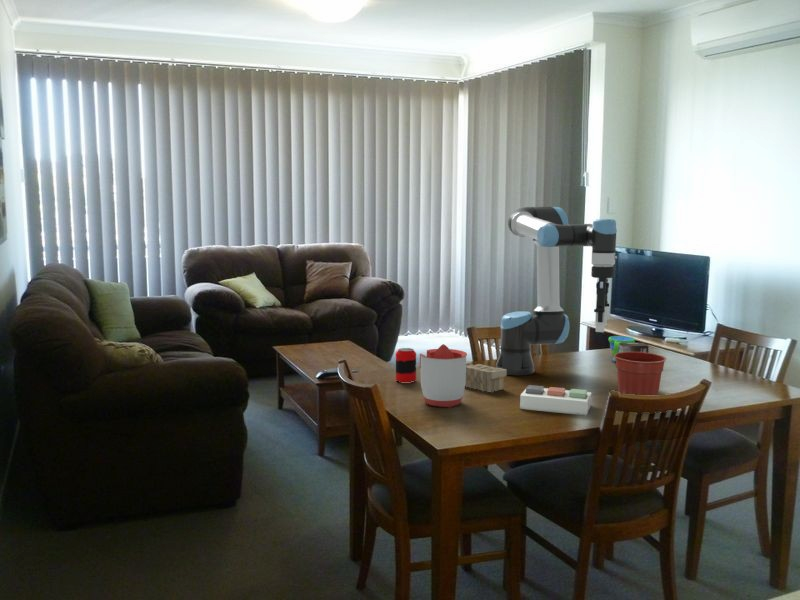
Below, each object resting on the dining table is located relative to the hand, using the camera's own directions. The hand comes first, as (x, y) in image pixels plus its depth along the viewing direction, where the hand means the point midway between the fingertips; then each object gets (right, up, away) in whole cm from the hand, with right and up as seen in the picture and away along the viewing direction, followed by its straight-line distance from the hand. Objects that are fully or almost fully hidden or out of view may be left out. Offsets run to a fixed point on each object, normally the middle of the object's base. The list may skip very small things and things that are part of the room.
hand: (601, 328), depth 251 cm
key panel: (-17, -25, -6) cm, 31 cm away
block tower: (-42, -22, +24) cm, 53 cm away
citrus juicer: (-54, -25, -1) cm, 60 cm away
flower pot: (+12, -25, -2) cm, 28 cm away
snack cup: (+25, -17, +62) cm, 69 cm away
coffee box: (+16, -22, +20) cm, 34 cm away
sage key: (-10, -23, -9) cm, 26 cm away
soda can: (-65, -21, +29) cm, 74 cm away
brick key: (-17, -22, -7) cm, 29 cm away
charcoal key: (-23, -22, -4) cm, 32 cm away
